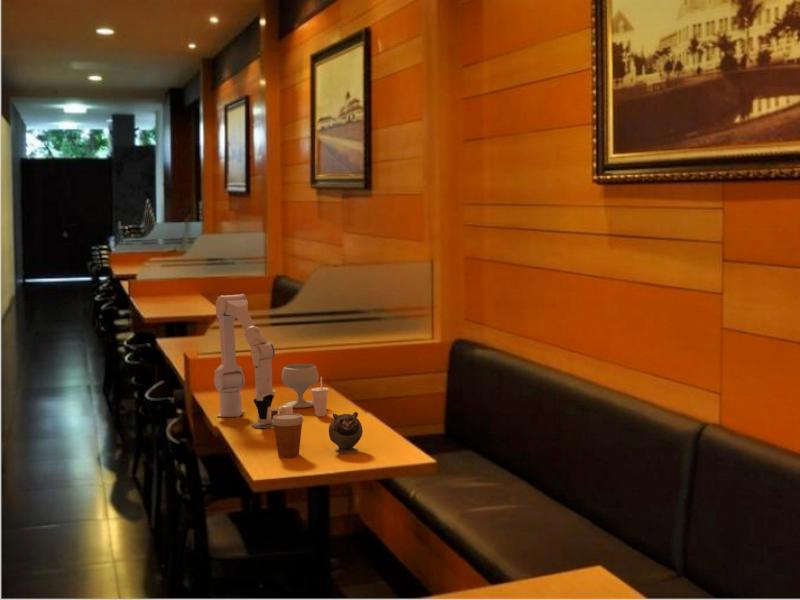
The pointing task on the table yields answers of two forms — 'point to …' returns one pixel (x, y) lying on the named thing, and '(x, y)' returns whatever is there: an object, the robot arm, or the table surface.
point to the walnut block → (273, 412)
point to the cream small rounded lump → (286, 409)
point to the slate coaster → (263, 425)
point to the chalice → (300, 381)
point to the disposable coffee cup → (288, 433)
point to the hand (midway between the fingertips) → (264, 417)
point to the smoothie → (320, 399)
